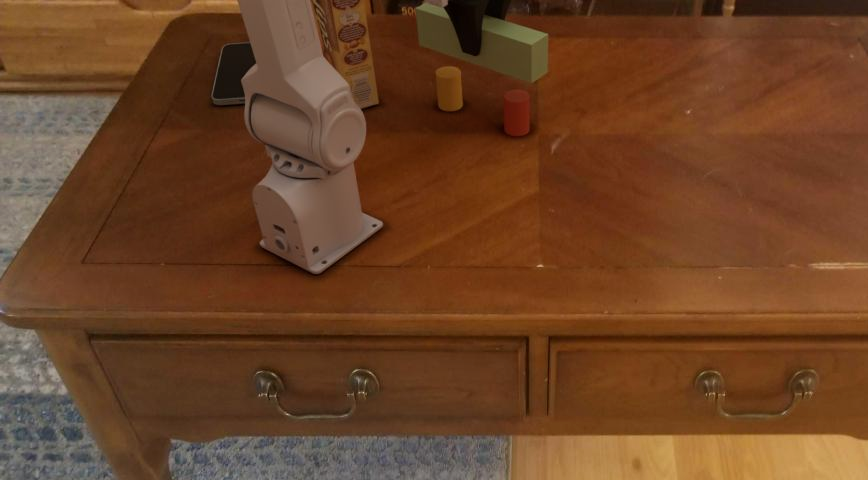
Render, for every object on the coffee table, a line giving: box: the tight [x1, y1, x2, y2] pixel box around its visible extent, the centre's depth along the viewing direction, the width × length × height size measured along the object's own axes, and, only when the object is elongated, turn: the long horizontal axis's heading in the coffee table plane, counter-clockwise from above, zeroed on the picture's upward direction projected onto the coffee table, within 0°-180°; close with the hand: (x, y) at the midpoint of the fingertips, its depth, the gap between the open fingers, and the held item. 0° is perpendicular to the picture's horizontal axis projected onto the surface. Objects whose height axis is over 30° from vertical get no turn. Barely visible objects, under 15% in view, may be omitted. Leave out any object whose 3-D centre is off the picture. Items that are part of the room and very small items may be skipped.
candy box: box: [310, 0, 380, 110], centre depth 100 cm, size 9×4×15 cm, turn 33°
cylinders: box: [435, 65, 531, 137], centre depth 100 cm, size 3×13×4 cm, turn 56°
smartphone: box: [211, 41, 256, 106], centre depth 108 cm, size 7×1×15 cm
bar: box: [415, 2, 549, 84], centre depth 95 cm, size 16×3×4 cm, turn 56°
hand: (480, 47), depth 95 cm, fingers closed on bar, 3 cm apart
